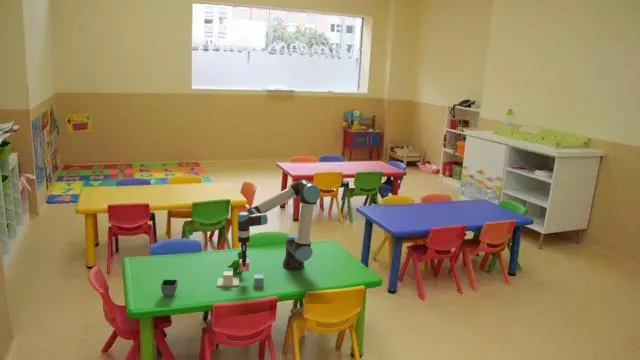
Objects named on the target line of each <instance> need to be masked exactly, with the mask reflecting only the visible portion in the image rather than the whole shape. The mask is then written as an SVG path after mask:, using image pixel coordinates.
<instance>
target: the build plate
mask: <svg viewBox="0 0 640 360" xmlns="http://www.w3.org/2000/svg"><path fill="white" fill-rule="evenodd" d="M239 286H240V277H234V272H233V270H231V271H223V274H222V277H218V278H217V281H216V287H217V288H221V287H222V288H223V287H224V288H227V287H230V288H232V287H236V288H237V287H239Z"/></svg>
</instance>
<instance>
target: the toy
mask: <svg viewBox="0 0 640 360" xmlns="http://www.w3.org/2000/svg"><path fill="white" fill-rule="evenodd" d="M237 258H238V259H236V260H233V261H232V262H231V264H229V265H228V266H227V268H228V269H229V268H232V271H233V274H234V273H236V272H237V271H238V274H242V272H243V271H240V259H242V251H241V250H240V251H238V252H237Z"/></svg>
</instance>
